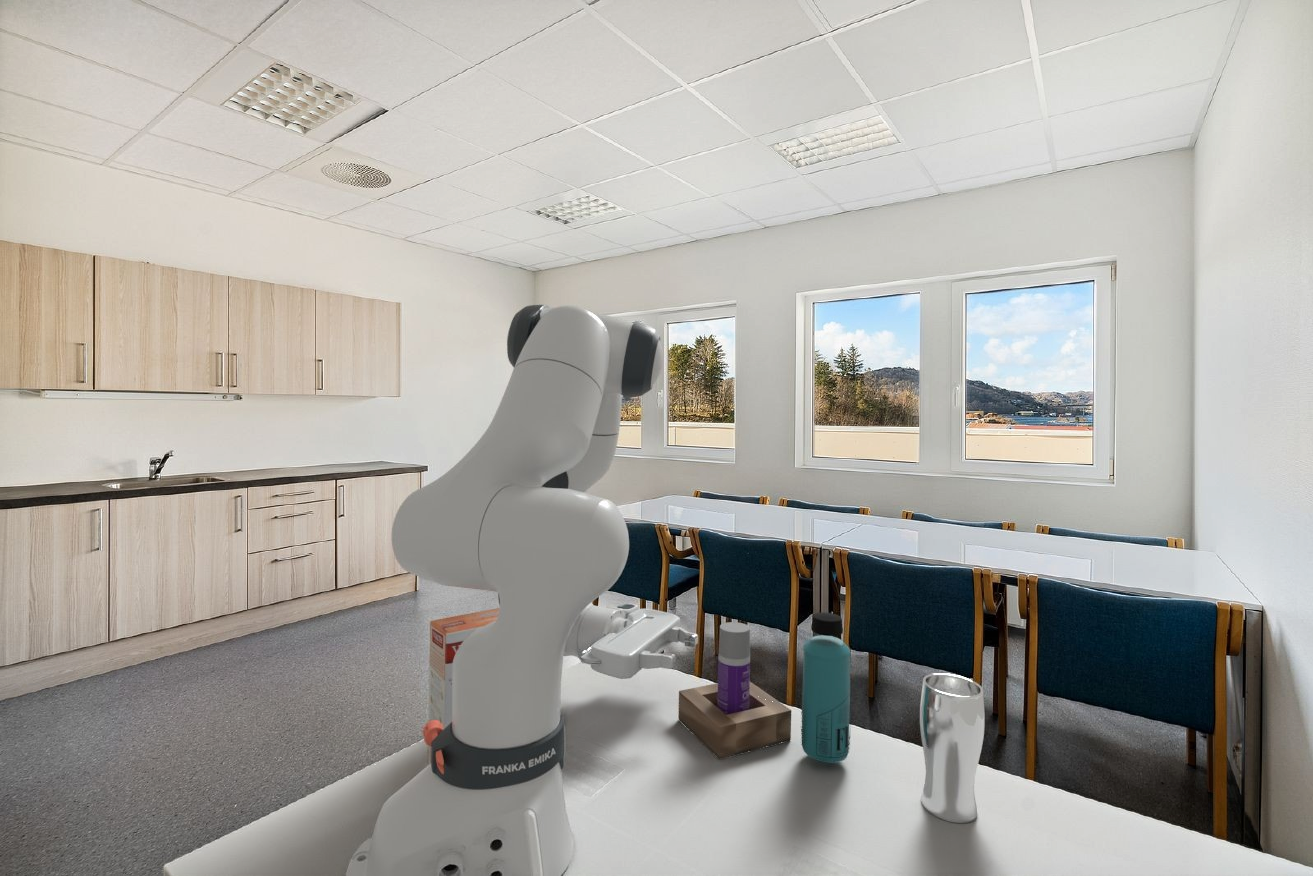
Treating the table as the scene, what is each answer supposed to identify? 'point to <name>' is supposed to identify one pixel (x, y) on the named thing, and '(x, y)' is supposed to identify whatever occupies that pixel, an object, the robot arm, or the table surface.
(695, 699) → the socket block
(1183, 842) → the table surface
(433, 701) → the cracker box
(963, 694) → the beer glass
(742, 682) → the container
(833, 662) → the beverage bottle
